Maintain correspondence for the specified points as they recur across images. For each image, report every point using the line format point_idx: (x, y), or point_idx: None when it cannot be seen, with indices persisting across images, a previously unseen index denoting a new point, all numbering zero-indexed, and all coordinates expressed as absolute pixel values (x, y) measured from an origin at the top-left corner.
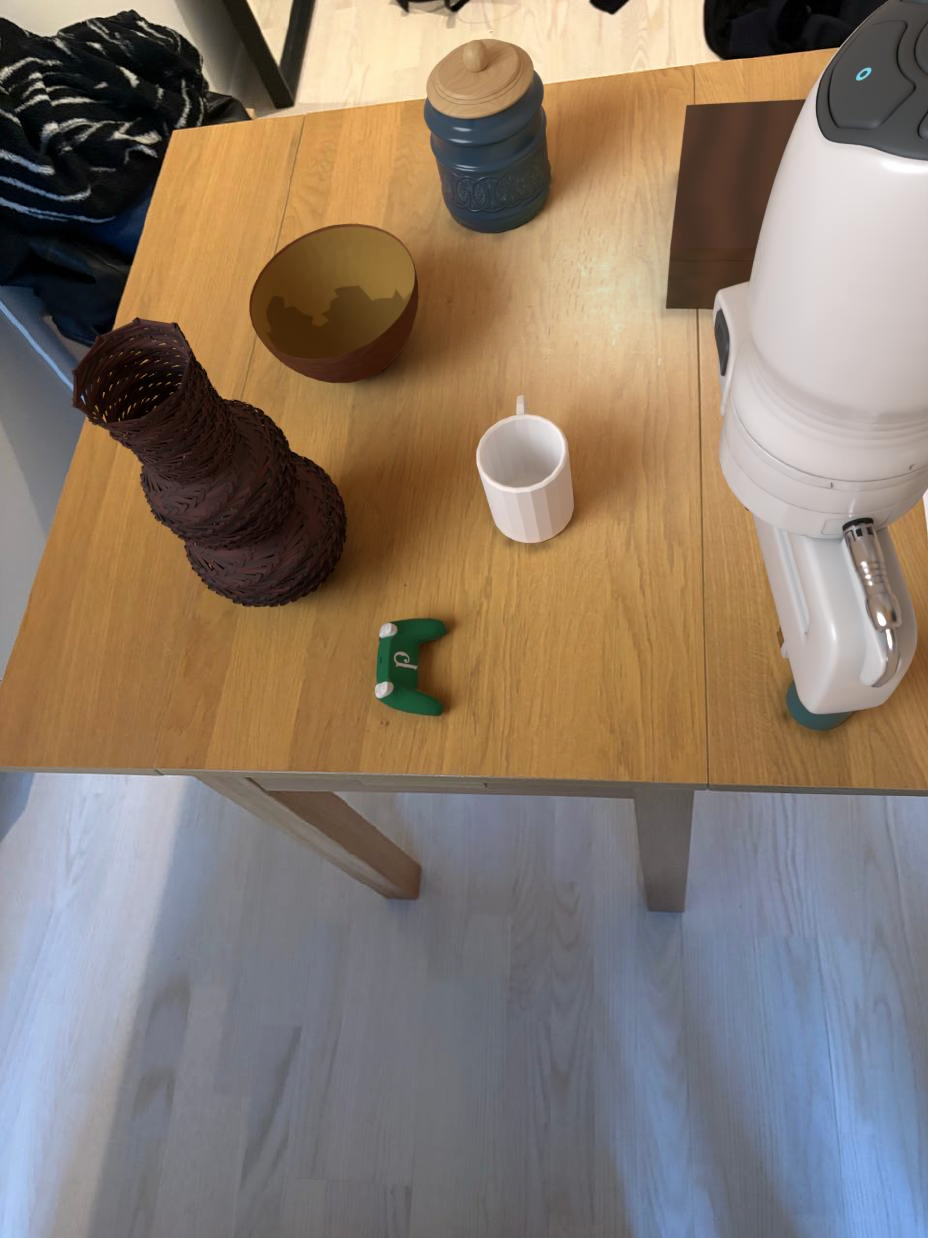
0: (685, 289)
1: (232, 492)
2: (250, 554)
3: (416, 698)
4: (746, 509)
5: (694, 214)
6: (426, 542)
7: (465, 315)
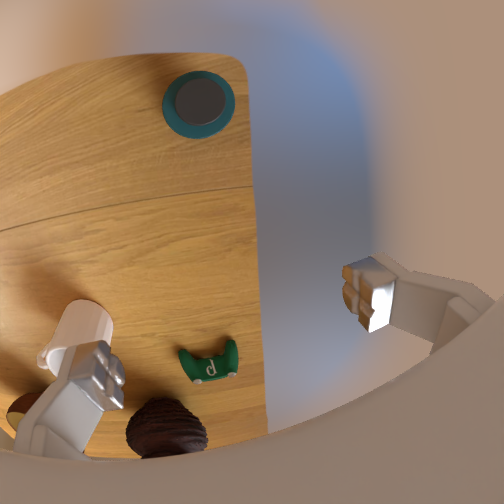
0: None
1: None
2: (192, 450)
3: (232, 358)
4: (124, 371)
5: None
6: (131, 366)
7: (8, 362)
